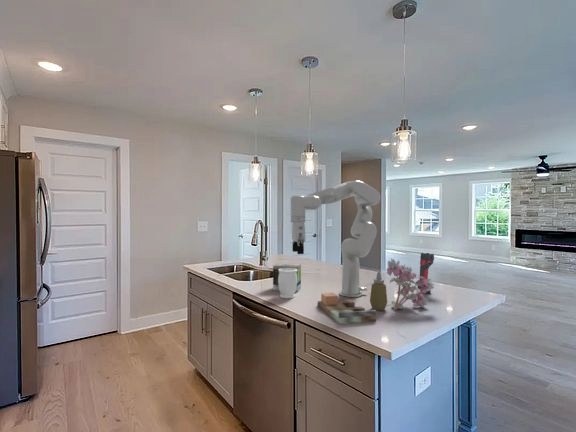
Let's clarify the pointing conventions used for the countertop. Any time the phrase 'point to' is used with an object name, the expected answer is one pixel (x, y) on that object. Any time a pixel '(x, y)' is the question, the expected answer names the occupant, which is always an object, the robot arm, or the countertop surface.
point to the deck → (347, 312)
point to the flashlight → (425, 265)
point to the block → (329, 298)
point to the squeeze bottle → (378, 294)
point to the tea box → (278, 266)
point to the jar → (287, 282)
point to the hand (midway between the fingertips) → (297, 252)
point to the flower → (408, 285)
